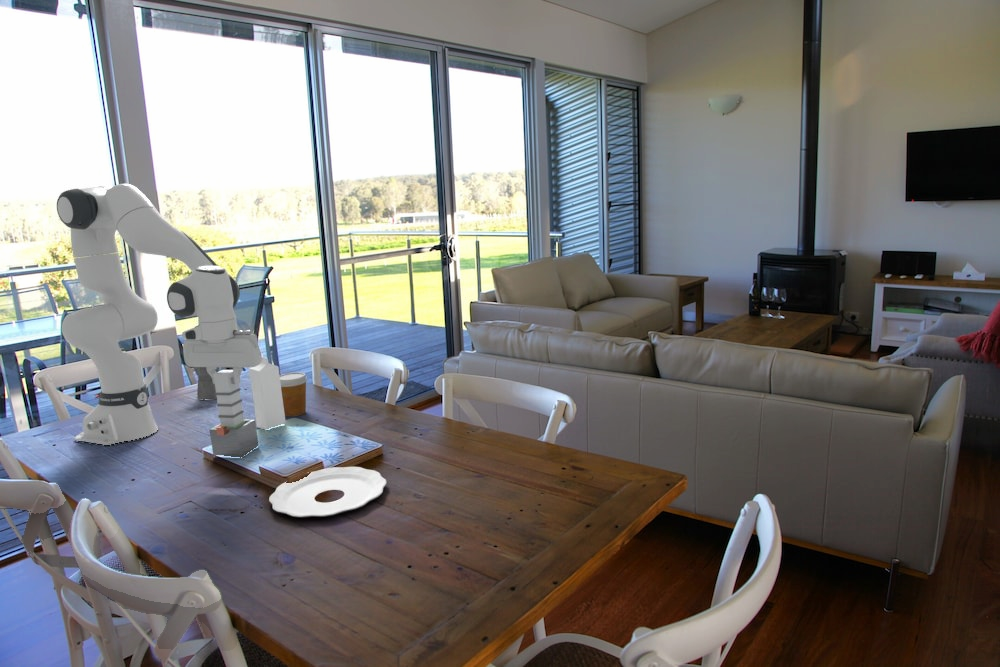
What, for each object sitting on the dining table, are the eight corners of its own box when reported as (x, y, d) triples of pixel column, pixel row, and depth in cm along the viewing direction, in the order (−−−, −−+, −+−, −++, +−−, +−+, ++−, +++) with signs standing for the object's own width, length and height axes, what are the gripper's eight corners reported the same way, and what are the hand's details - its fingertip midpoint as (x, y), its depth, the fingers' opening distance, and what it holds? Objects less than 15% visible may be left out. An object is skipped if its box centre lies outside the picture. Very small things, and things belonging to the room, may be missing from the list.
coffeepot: (194, 403, 229) (186, 351, 225) (188, 397, 237) (180, 347, 233) (241, 393, 238) (234, 343, 234) (234, 388, 245) (227, 339, 242)
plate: (328, 534, 135) (327, 525, 135) (246, 509, 149) (245, 501, 148) (409, 485, 156) (408, 477, 156) (330, 467, 169) (329, 459, 169)
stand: (196, 466, 174) (190, 429, 172) (229, 446, 187) (224, 411, 185) (245, 468, 170) (240, 430, 168) (275, 447, 184) (271, 412, 182)
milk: (267, 435, 194) (257, 360, 189) (257, 431, 198) (246, 357, 193) (287, 429, 198) (277, 355, 194) (276, 425, 202) (266, 353, 198)
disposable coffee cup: (277, 411, 215) (272, 375, 213) (308, 406, 219) (303, 370, 216) (281, 420, 207) (276, 382, 204) (313, 414, 210) (309, 377, 208)
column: (221, 434, 176) (212, 374, 172) (231, 428, 180) (222, 369, 177) (236, 434, 175) (227, 374, 171) (246, 428, 179) (237, 369, 176)
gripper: (262, 327, 172) (269, 380, 175) (192, 328, 177) (200, 379, 180) (248, 333, 166) (255, 387, 169) (176, 333, 171) (184, 386, 174)
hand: (226, 383), depth 175 cm, fingers closed on column, 4 cm apart
